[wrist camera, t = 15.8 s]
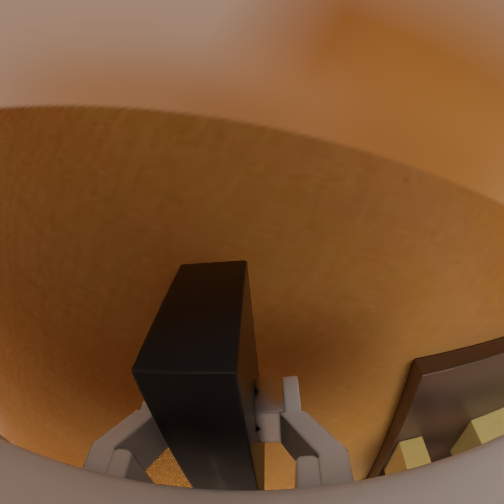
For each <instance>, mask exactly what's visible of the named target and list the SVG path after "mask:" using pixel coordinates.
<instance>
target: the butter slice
mask: <svg viewBox="0 0 504 504" xmlns="http://www.w3.org/2000/svg"><path fill="white" fill-rule="evenodd" d="M429 463H431V460H430V457H429V454H428V451H427V449H426V446H425V443H424V440H423V438H422V436H420V437H417V438H413V439H409V440H405V441H401V442H399V443H398V445H397V447H396V449H395V450H394V452H393V454H392V456H391V458H390V460H389V462H388V464H387V466H386V467H385V469H384V471H385V475H388V474H392V473H396V472H400V471H404V470H408V469H412V468H415V467H419V466H422V465H425V464H429Z"/></svg>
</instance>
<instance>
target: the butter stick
mask: <svg viewBox="0 0 504 504" xmlns="http://www.w3.org/2000/svg"><path fill="white" fill-rule="evenodd" d="M503 434H504V407H503V408H501V409H498V410H496V411H494V412H491V413H489V414H486V415H484V416H481V417H479V418H476V419H473V420H471V421H470V422H469V424H468V425H467V427H466V429H465V430H464V432H463V433H462V435H461V436H460V438H459V439H458V440H457V442H456V443H455V445H454V446H453V448H452V449H451V450H450V452H451V455H452V456H453V455H455V454H458V453H461V452H463V451H466V450H469V449H471V448H474V447H476V446H479V445H481V444H483V443H486V442H488V441H490V440H492V439H495V438H497V437H499V436H501V435H503Z"/></svg>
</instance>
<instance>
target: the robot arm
mask: <svg viewBox="0 0 504 504" xmlns="http://www.w3.org/2000/svg"><path fill="white" fill-rule="evenodd" d="M254 388H255V396H254V418H255V425H256V426H257V431H256V432H257V438H258V442H281V443H282V444H283V446H284V447H285V448H286V450H287V451H288V452H289V453H290V455H291V456H292V457H293V459H294V460H295V461H296V470H295V488H294V489H282V490H213V489H198V488H187V487H177V486H169V485H161V484H154V482H153V481H152V480H151V478H150V477H149V476H148V474H147V473H146V472H145V471H146V470H147V468H148V467H149V466H150V465H151V464H152V463H153V462H154V461H155V460H156V459H157V458H158V457H159V456H160V455H161V454H162V453H163V452H164V451H165V449H166V448H167V447H168V445H167V443H166V441H165V440H164V438H163V436H162V434H161V432H160V430H159V428H158V426H157V425H156V423H155V421H154V419H153V417H152V415H151V413H150V411H149V409H148V407H147V405H146V403H145V401H143V404H142V406H141V409H140V410H136V411H134V412H133V413H132V414H130V415H129V416H128V417H126V418H125V419H124V420H122V421H121V422H120V423H118V424H117V425H116V426H114V427H113V428H112V429H110V430H109V431H108V432H106V433H105V434H104V435H102V436H101V437H100V438H98V439H97V440H96V441H94V442H93V444H92V446H91V449H90V451H89V454H88V456H87V459H86V461H85V464H84V466H83V468H80V467H76V466H73V465H70V464H66V463H63V462H60V461H57V460H54V459H51V458H48V457H45V456H43V455H40V454H37V453H34V452H32V451H29V450H27V449H24V448H22V447H19V446H17V445H14V444H12V443H10V442H8V441H5V440H3V439H1V438H0V504H504V434H503V435H501V436H499V437H497V438H495V439H492V440H490V441H488V442H486V443H483V444H481V445H479V446H476V447H474V448H471V449H469V450H466V451H463V452H461V453H458V454H455V455H453V456H450V457H447V458H444V459H441V460H438V461H435V462H432V463H429V464H425V465H422V466H419V467H415V468H412V469H408V470H404V471H400V472H396V473H392V474H388V475H384V476H379V477H374V478H369V479H364V480H359V481H353V476H352V470H351V465H350V459H349V454H348V450H347V449H346V448H345V447H344V446H343V445H341V444H340V443H339V442H338V441H337V440H336V439H335V438H334V437H333V436H332V435H331V434H330V433H328V432H327V431H326V430H325V429H324V428H323V427H322V426H321V425H320V424H319V423H318V422H317V421H316V420H315V419H314V418H313V417H312V416H311V415H310V414H309V413H308V412H307V411H301V401H300V392H299V384H298V377H297V376H287V377H283V378H282V377H272V378H255V387H254Z"/></svg>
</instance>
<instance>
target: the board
mask: <svg viewBox="0 0 504 504" xmlns="http://www.w3.org/2000/svg"><path fill="white" fill-rule="evenodd" d="M503 407H504V337H502V338H499V339H496V340H492V341H489V342H485V343H482V344H478V345H474V346H470V347H467V348H463V349H459V350H455V351H450V352H446V353H442V354H437V355H433V356H428V357H423V358H419V359H415V360H414V362H413V365H412V369H411V372H410V375H409V378H408V381H407V384H406V387H405V390H404V393H403V396H402V398H401V401H400V404H399V407H398V409H397V412H396V415H395V417H394V420H393V422H392V425H391V427H390V430H389V432H388V434H387V437H386V439H385V441H384V444H383V446H382V448H381V450H380V453H379V455H378V457H377V459H376V461H375V463H374V466H373V468H372V470H371V472H370V474H369V476H368V478H367V479H369V478H374V477H379V476H384V475H385V471H384V469H385V467H386V466H387V464H388V462H389V460H390V458H391V456H392V454H393V452H394V450H395V449H396V447H397V445H398V443H399V442H401V441H405V440H409V439H413V438H417V437H420V436H422V438H423V440H424V443H425V446H426V449H427V451H428V454H429V457H430V460H431V463H432V462H435V461H438V460H441V459H444V458H447V457H450V456H452V455H451V452H450V450H451V449H452V448H453V446H454V445H455V443H456V442H457V440H458V439H459V438H460V436H461V435H462V433H463V432H464V430H465V429H466V427H467V425H468V424H469V422H470V421H471V420H473V419H476V418H479V417H481V416H484V415H486V414H489V413H491V412H494V411H496V410H498V409H501V408H503Z"/></svg>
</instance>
